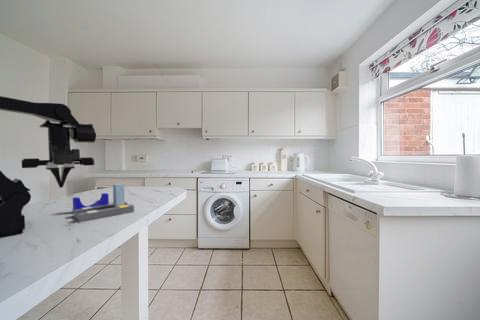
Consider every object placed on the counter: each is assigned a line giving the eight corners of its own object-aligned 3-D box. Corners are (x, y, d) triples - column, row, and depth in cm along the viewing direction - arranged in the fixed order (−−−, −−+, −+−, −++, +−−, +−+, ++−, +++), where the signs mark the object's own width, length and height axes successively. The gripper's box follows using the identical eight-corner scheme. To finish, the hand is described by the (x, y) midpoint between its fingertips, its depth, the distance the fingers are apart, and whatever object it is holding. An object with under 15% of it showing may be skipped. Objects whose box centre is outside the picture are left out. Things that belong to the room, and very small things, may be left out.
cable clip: (104, 206, 98) (103, 192, 98) (108, 207, 96) (108, 193, 95) (71, 212, 89) (71, 197, 88) (75, 213, 86) (75, 198, 86)
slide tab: (116, 209, 86) (115, 185, 86) (113, 208, 89) (112, 184, 89) (124, 208, 89) (124, 184, 88) (121, 206, 91) (121, 183, 91)
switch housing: (79, 222, 75) (79, 214, 75) (73, 216, 82) (73, 209, 82) (134, 211, 88) (133, 205, 88) (125, 207, 95) (125, 201, 95)
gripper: (21, 140, 62) (24, 194, 63) (97, 141, 76) (99, 186, 76) (20, 141, 70) (22, 189, 71) (89, 142, 84) (91, 183, 84)
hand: (61, 187), depth 75 cm, fingers closed
